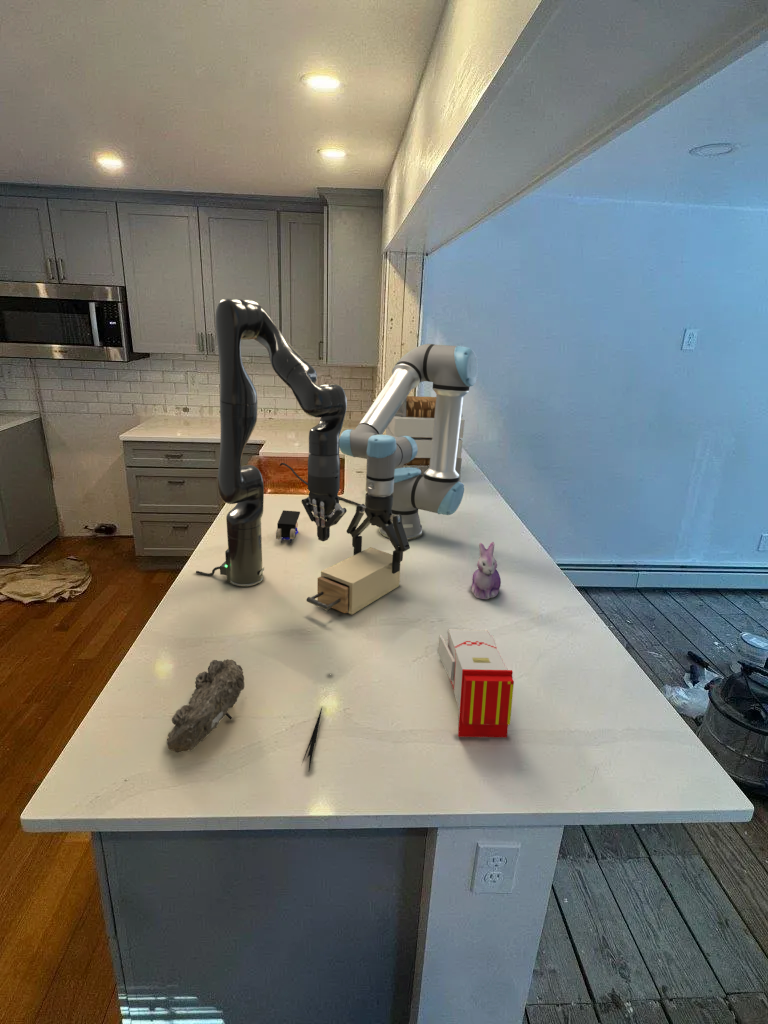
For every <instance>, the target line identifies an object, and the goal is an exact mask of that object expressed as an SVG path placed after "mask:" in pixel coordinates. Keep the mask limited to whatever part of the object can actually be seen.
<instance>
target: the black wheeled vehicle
mask: <svg viewBox="0 0 768 1024" xmlns="http://www.w3.org/2000/svg"><path fill="white" fill-rule="evenodd" d="M300 515H301V511H296V510H285V509H284V510H283V509H282V512H281V514H280V517H279V518H278V521H277V526H276V532H275V539H276V540H280V544H283V543H284V541H288V542H289V544H292V542H293V540H295V539H296V535H298V534H299V530H298V526H299V524H298V520H299V517H300Z"/></svg>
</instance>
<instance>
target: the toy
mask: <svg viewBox="0 0 768 1024" xmlns="http://www.w3.org/2000/svg"><path fill="white" fill-rule="evenodd" d="M446 640H447V643H446V641H445V639H444V636H443V635H442V634H439V637H438V646H437V656H438V657H439V659H440V661H441V663H442V666H443V668H444V670H445V672H446V674H447V677H448V679H449V681H450V684H451V687H452V690H453V693H454V697H455V701H456V705H457V708H458V711H459V714H458V715H459V716H458V730H457V731H458V732H457V737H458V738H508V731H509V726H510V725H511V717H512V707H513V697H514V696H513V695H514V684H515V680H514V679H513V673H514V671H513V670H512V669H508V667H507V665H506V662H505V661H504V659H503V658H502V655H501V653H500V651H499V649H498V647H497V643H496V639H495V637H494V635H493V634H491V632H490V631H489V629H467V628H466V629H465V628H463V629H461V628H460V629H459V628H448V630H447V639H446Z"/></svg>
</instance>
